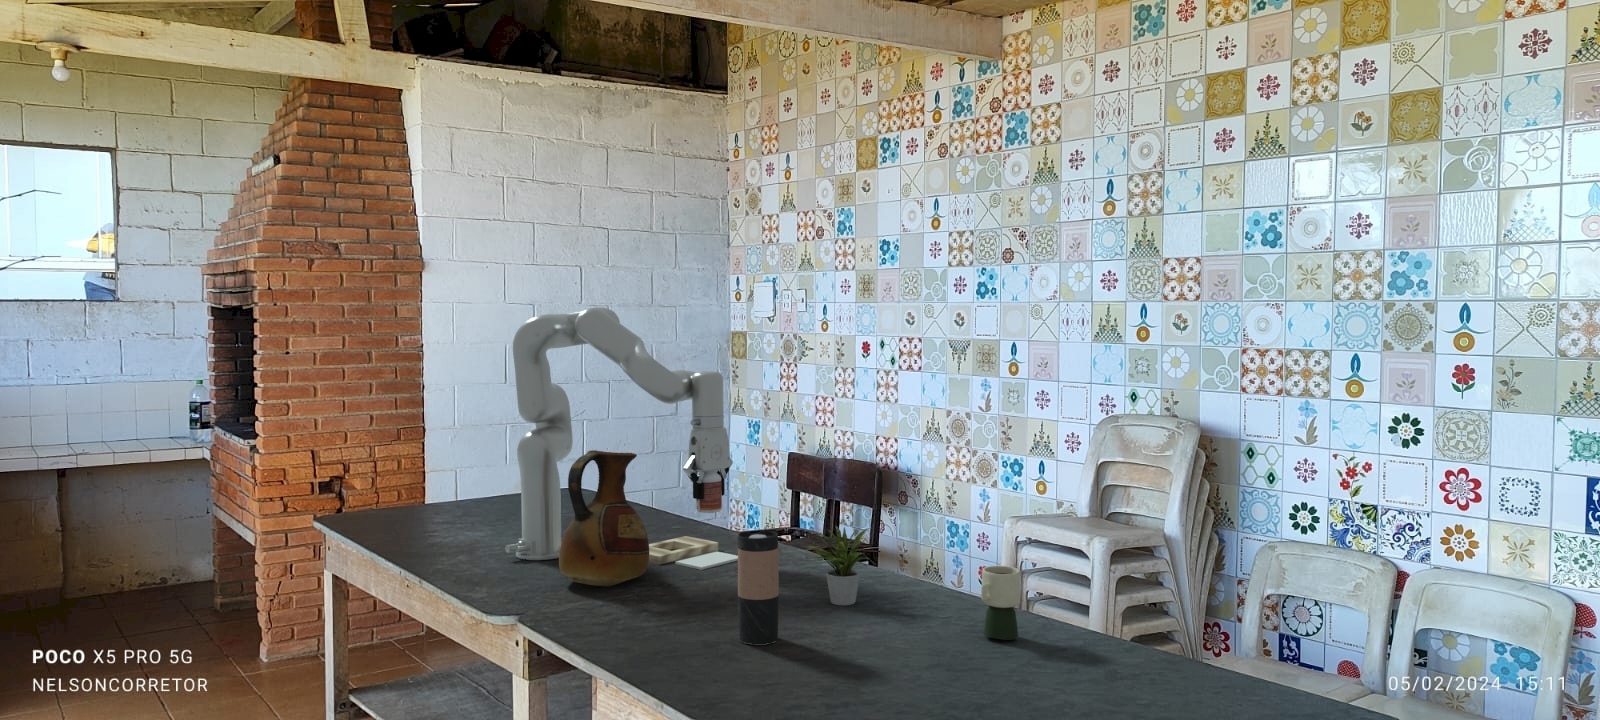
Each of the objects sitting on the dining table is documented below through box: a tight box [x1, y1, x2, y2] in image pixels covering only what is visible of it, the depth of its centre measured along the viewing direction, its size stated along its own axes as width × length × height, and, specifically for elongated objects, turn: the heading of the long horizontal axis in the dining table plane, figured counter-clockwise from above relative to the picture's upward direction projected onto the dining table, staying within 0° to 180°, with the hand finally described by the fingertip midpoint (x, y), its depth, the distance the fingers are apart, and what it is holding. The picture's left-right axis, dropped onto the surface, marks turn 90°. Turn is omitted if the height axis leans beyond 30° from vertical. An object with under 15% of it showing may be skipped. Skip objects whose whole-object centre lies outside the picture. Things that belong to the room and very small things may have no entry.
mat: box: [674, 551, 738, 571], centre depth 274 cm, size 14×9×1 cm, turn 139°
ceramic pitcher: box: [558, 449, 650, 587], centre depth 254 cm, size 20×20×30 cm
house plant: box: [806, 525, 872, 606], centre depth 238 cm, size 14×14×16 cm
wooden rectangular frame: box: [648, 535, 719, 566], centre depth 282 cm, size 20×12×2 cm, turn 139°
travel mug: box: [737, 530, 780, 644], centre depth 211 cm, size 8×8×20 cm
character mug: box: [980, 565, 1021, 641], centre depth 211 cm, size 11×7×13 cm, turn 131°
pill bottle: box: [695, 470, 723, 514], centre depth 273 cm, size 6×6×11 cm
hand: (708, 496), depth 273 cm, fingers closed on pill bottle, 6 cm apart
